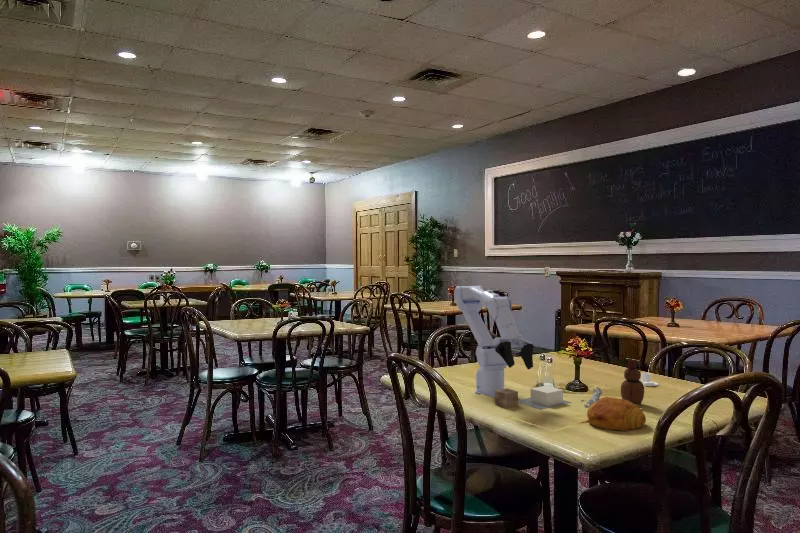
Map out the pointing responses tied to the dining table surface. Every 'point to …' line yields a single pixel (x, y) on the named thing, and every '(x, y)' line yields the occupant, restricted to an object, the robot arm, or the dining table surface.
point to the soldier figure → (594, 397)
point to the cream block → (546, 395)
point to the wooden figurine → (632, 384)
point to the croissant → (615, 414)
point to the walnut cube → (506, 398)
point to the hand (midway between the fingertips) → (521, 367)
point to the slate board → (539, 406)
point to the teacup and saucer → (647, 380)
